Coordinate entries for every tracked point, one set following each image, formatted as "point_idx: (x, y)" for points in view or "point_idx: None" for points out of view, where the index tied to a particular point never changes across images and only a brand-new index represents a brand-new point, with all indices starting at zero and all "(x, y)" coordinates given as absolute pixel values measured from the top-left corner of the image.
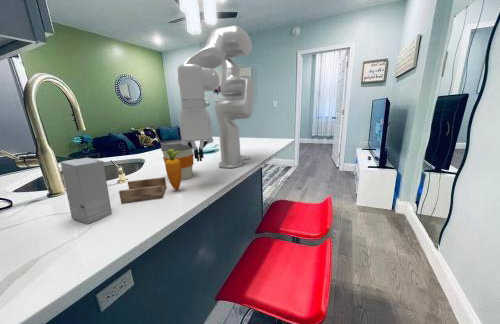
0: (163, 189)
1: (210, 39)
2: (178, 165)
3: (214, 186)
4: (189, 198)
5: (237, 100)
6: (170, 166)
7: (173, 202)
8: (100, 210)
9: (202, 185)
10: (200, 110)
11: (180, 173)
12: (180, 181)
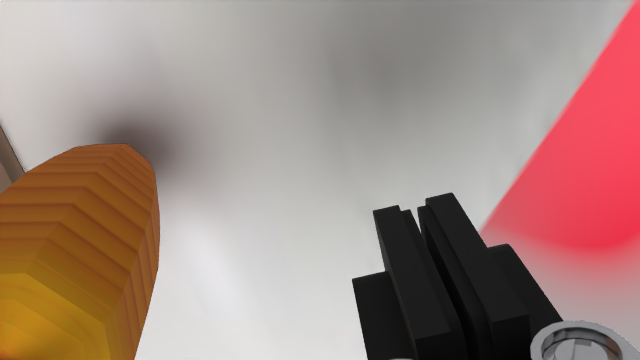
0: (5, 187)
1: None
2: (132, 352)
3: (475, 94)
4: (299, 306)
5: None
6: None
7: (204, 351)
8: None
9: (351, 48)
10: None
11: (154, 250)
12: (156, 189)
